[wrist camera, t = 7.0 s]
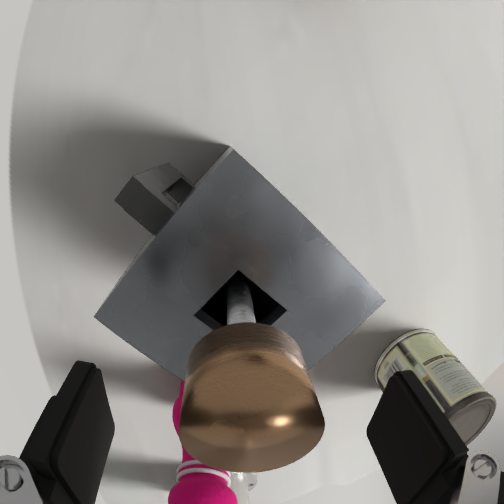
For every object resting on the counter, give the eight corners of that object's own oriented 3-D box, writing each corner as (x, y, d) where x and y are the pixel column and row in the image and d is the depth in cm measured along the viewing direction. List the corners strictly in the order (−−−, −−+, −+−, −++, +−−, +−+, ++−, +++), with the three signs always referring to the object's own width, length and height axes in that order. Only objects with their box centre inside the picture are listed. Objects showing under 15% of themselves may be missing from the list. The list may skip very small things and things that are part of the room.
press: (236, 294, 32) (246, 417, 17) (134, 209, 28) (50, 279, 13) (309, 220, 30) (385, 300, 15) (206, 125, 26) (180, 102, 11)
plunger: (237, 302, 26) (255, 506, 9) (168, 246, 24) (85, 431, 7) (300, 240, 24) (414, 409, 8) (231, 176, 22) (245, 271, 6)
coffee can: (431, 378, 39) (477, 443, 26) (369, 396, 39) (408, 474, 25) (446, 320, 36) (509, 384, 22) (378, 337, 35) (434, 419, 22)
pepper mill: (164, 379, 35) (138, 531, 16) (217, 358, 34) (217, 525, 15) (197, 415, 37) (191, 554, 18) (247, 397, 36) (263, 545, 18)
